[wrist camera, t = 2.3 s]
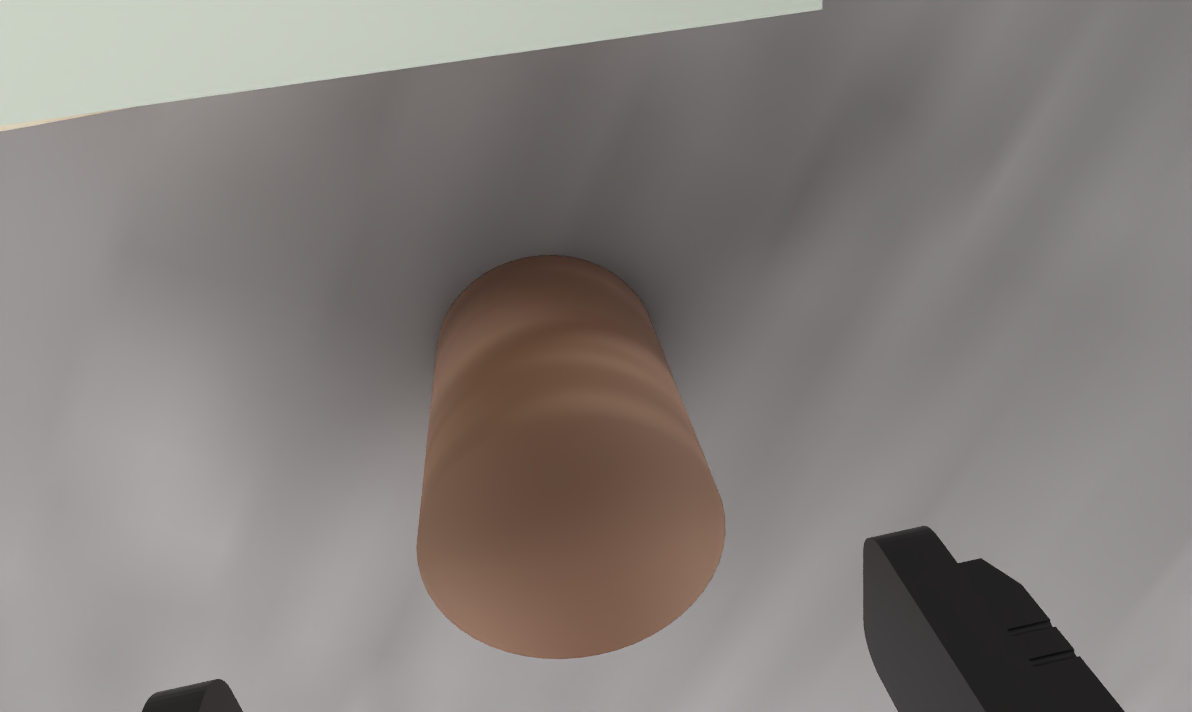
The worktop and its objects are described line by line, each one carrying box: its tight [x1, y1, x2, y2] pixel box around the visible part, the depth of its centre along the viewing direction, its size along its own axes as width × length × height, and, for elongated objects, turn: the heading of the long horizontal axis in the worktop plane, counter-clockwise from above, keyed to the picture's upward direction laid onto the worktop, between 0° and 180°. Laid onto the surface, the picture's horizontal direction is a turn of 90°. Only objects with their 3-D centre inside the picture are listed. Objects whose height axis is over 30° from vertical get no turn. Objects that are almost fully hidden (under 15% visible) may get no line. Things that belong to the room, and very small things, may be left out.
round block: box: [417, 255, 725, 659], centre depth 15 cm, size 5×5×6 cm
